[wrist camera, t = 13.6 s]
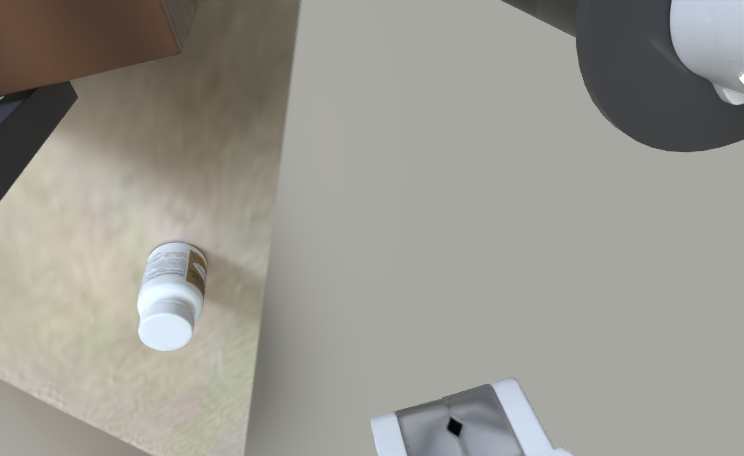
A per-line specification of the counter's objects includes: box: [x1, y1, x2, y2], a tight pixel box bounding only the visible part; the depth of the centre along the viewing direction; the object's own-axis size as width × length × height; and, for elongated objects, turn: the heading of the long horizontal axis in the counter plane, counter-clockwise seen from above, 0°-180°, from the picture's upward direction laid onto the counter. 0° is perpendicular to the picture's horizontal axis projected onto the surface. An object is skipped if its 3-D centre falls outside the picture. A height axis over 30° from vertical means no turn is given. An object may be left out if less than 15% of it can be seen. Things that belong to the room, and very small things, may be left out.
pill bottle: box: [137, 242, 207, 351], centre depth 39 cm, size 4×4×8 cm
